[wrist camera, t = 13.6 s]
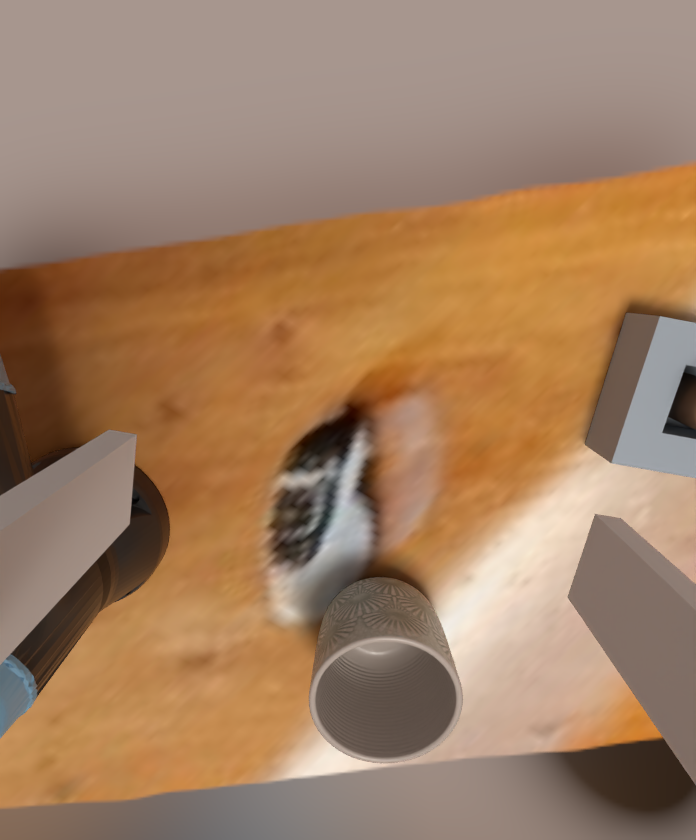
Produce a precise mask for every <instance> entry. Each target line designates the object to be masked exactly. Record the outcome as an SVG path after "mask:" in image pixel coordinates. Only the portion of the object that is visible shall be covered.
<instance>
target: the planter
mask: <svg viewBox="0 0 696 840" xmlns="http://www.w3.org/2000/svg"><path fill="white" fill-rule="evenodd" d="M462 703H463V695H462V687H461V683H460V680H459V677H458V674H457V670H456V667H455V664H454V661H453V658H452V655H451V651H450V648H449V645H448V642H447V639H446V636H445V633H444V631H443V628H442V625H441V623H440V621H439V618H438V616H437V614H436V612H435V610H434V608H433V607H432V605H431V604H430V602H429V601H428V600H427V599H426V597H425V596H424V595H423V594H422V593H421V592H420V591H418V590H417V589H416V588H414V587H413V586H411V585H409V584H407V583H405V582H403V581H400V580H397V579H393V578H387V577H374V578H367V579H363V580H360V581H357V582H355V583H353V584H351V585H349V586H348V587H346V588H345V589H343V590H342V591H341V592H340V593H339V594H338V595H337V596H336V597H335V598H334V599H333V601H332V602H331V604H330V605H329V607H328V608H327V611H326V613H325V615H324V618H323V620H322V624H321V627H320V631H319V636H318V641H317V646H316V652H315V658H314V665H313V671H312V678H311V685H310V691H309V707H310V713H311V716H312V719H313V721H314V724H315V726H316V727H317V729H318V731H319V732H320V733H321V735H322V736H323V737H324V738H325V739H326V740H327V741H328V742H329V743H330V744H331V745H332V746H333V747H335V748H336V749H338V750H339V751H341V752H343V753H344V754H346V755H349V756H351V757H353V758H356V759H359V760H363V761H367V762H373V763H397V762H403V761H407V760H411V759H414V758H417V757H420V756H422V755H424V754H426V753H428V752H430V751H431V750H433V749H434V748H436V747H437V746H438V745H440V744H441V743H442V742H443V741H444V740H445V739H446V738H447V737H448V736H449V734H450V733H451V732H452V731H453V729H454V727H455V726H456V724H457V722H458V719H459V717H460V714H461V710H462Z"/></svg>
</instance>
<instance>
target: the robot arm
mask: <svg viewBox="0 0 696 840" xmlns="http://www.w3.org/2000/svg"><path fill="white" fill-rule="evenodd" d="M14 394H16V389H15V388H14V386H13V385H11V384H10V383H9V380H8V377H7V374H6V370H5V367H4V364H3V361H2V358H1V355H0V738H1V737H2V736H3V735H4V734H5V732H6V731H7V730H8V729H9V728H10V727H11V725H12V724H13V723H14V722H15V721H16V720H17V719H18V717H20V716H21V715H23V714H24V713H25V712H26V711H27V710H28V709H29V708H30V707H31V706H32V705H33V703H34V701H35V700H36V698H37V696H38V695H39V693H40V692H41V691H42V689H43V688H44V687H45V685H46V684H47V683H48V681H49V680H50V678H51V677H52V676H53V674H54V673H55V672H56V670H57V669H58V668H59V666H60V665H61V663H62V662H63V661H64V659H65V658H66V657H67V655H68V654H69V653H70V651H71V650H72V648H73V647H74V646H75V644H76V643H77V642H78V640H79V639H80V638H81V636H82V635H83V634H84V632H85V631H86V629H87V628H88V627H89V625H90V624H91V623H92V621H93V620H94V618H95V617H96V616H97V614H98V613H99V612H100V611H102V610H103V609H104V608H106V607H107V606H109V605H110V604H112V603H114V602H116V601H119V600H121V599H123V598H125V597H127V596H128V595H130V594H132V593H133V592H135V591H136V590H137V589H139V588H140V587H141V586H142V585H143V584H144V583H145V582H146V581H147V580H148V579H149V578H150V576H151V575H152V574H153V572H154V571H155V569H156V568H157V566H158V565H159V563H160V562H161V560H162V558H163V556H164V554H165V552H166V549H167V546H168V541H169V531H170V529H169V518H168V513H167V510H166V507H165V504H164V502H163V499H162V497H161V495H160V494H159V492H158V490H157V489H156V487H155V486H154V485H153V483H152V482H151V481H150V480H149V478H148V477H147V476H146V475H145V474H144V473H143V472H141V471H140V470H139V469H138V468H137V467H135V466H134V464H135V451H136V438H137V434H131V433H125V432H120V431H114V430H108V431H106V432H104V433H103V434H101V435H99V436H98V437H96V438H94V439H93V440H91V441H90V442H88V443H86V444H85V445H83V446H81V447H80V448H67V449H62V450H58V451H55V452H52V453H49V454H47V455H45V456H43V457H41V458H39V459H38V460H36V461H34V462H32V463H31V460H30V456H29V452H28V448H27V444H26V440H25V436H24V433H23V429H22V425H21V421H20V417H19V413H18V409H17V405H16V401H15V397H14ZM568 598H569V600H570V601H571V603H572V604H573V606H574V607H575V609H576V610H577V612H578V613H579V615H580V616H581V618H582V619H583V620H584V622H585V623H586V625H587V626H588V628H589V629H590V631H591V632H592V634H593V635H594V637H595V638H596V640H597V641H598V642H599V644H600V645H601V647H602V648H603V650H604V651H605V653H606V654H607V656H608V657H609V659H610V660H611V662H612V663H613V664H614V666H615V667H616V669H617V670H618V672H619V673H620V675H621V676H622V678H623V679H624V681H625V682H626V684H627V685H628V686H629V688H630V689H631V691H632V692H633V694H634V695H635V697H636V698H637V700H638V701H639V703H640V704H641V705H642V707H643V708H644V710H645V711H646V713H647V714H648V716H649V717H650V719H651V720H652V722H653V723H654V725H655V726H656V727H657V729H658V730H659V732H660V733H661V735H662V736H663V738H664V739H665V741H666V742H667V744H668V745H669V747H670V748H671V749H672V751H673V752H674V754H675V755H676V757H677V758H678V759H679V761H680V762H681V764H682V766H683V767H684V769H685V770H686V771H687V773H688V774H689V776H690V777H691V779H692V780H693V782H694V783H695V785H696V584H695V583H694V582H693V581H691V580H690V579H689V578H688V577H687V576H686V575H685V574H683V573H682V572H681V571H680V570H679V569H678V568H677V567H675V566H674V565H673V564H672V563H671V562H670V561H669V560H668V559H666V558H665V557H664V556H663V555H662V554H661V553H660V552H658V551H657V550H656V549H655V548H654V547H653V546H652V545H651V544H649V543H648V542H647V541H646V540H645V539H644V538H643V537H641V536H640V535H639V534H638V533H637V532H636V531H635V530H634V529H632V528H631V527H630V526H629V525H628V524H627V523H626V522H624V521H623V520H622V519H621V518H615V517H610V516H604V515H598V514H595V516H594V519H593V522H592V525H591V528H590V531H589V534H588V537H587V540H586V543H585V546H584V549H583V552H582V555H581V558H580V561H579V564H578V567H577V570H576V573H575V576H574V579H573V582H572V585H571V588H570V591H569V594H568Z"/></svg>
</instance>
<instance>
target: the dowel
mask: <svg viewBox="0 0 696 840" xmlns="http://www.w3.org/2000/svg"><path fill="white" fill-rule="evenodd" d="M668 417H669V418H671V419H673V420H676V421H678V422H680V423H682V424H684V425H686V426H689V427H691V428H693V429H695V430H696V376H695V375H692V374H689V373H685V372H683V375H682V378H681V381H680V383H679V386H678V389H677V392H676V395H675V398H674V400H673V403H672V406H671V409H670V412H669V415H668Z"/></svg>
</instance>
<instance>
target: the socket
mask: <svg viewBox="0 0 696 840" xmlns="http://www.w3.org/2000/svg"><path fill="white" fill-rule="evenodd" d="M683 372H685V373H689V374H692V375H695V376H696V323H694V322H688V321H683V320H678V319H672V318H667V317H662V316H654V315H645V314H636V313H627V312H626V315H625V318H624V322H623V325H622V328H621V331H620V334H619V337H618V341H617V344H616V347H615V350H614V353H613V357H612V360H611V363H610V366H609V369H608V372H607V376H606V379H605V382H604V385H603V388H602V391H601V395H600V398H599V401H598V404H597V407H596V411H595V414H594V417H593V420H592V423H591V426H590V430H589V433H588V436H587V439H586V442H585V445H586V446H588V447H589V448H590V449H592V450H593V451H595V452H596V453H597V454H599V455H600V456H602V457H603V458H605V459H606V460H607V461H609V462H610V463H613V464H619V465H624V466H630V467H636V468H641V469H647V470H653V471H658V472H664V473H669V474H675V475H681V476H686V477H692V478H696V430H695V429H693V428H691V427H689V426H686V425H684V424H682V423H680V422H678V421H676V420H673V419H671V418H669V417H668V415H669V412H670V409H671V406H672V403H673V400H674V398H675V395H676V392H677V389H678V386H679V383H680V381H681V378H682V375H683Z"/></svg>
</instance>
